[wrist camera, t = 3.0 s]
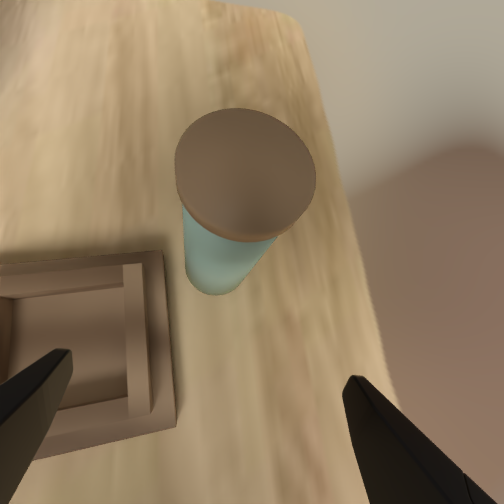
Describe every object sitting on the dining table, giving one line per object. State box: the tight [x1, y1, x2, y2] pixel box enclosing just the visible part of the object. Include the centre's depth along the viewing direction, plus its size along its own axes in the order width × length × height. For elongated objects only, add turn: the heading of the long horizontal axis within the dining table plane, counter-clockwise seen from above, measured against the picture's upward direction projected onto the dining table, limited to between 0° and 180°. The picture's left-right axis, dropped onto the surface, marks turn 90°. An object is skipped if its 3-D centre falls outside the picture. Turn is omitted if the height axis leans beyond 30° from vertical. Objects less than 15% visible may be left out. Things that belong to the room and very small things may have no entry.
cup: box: [175, 108, 316, 295], centre depth 17 cm, size 5×5×14 cm
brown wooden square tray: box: [0, 250, 177, 461], centre depth 19 cm, size 12×12×3 cm
